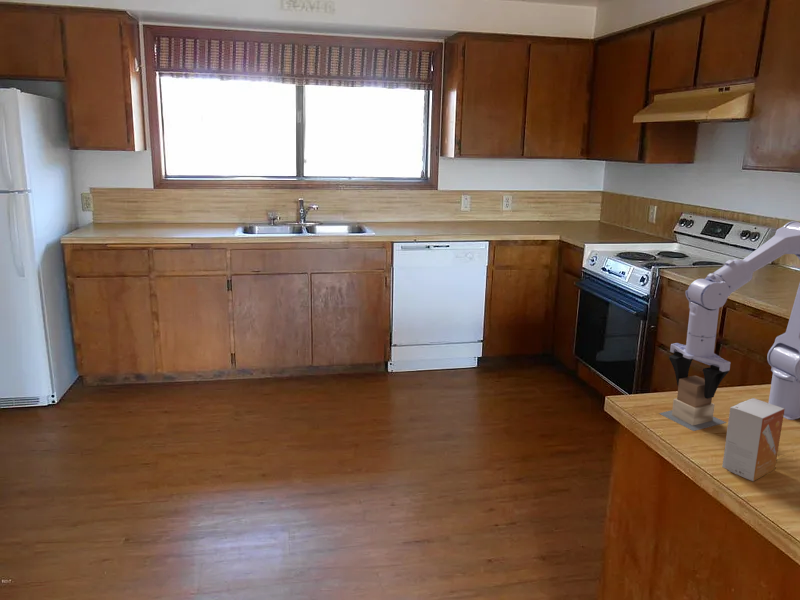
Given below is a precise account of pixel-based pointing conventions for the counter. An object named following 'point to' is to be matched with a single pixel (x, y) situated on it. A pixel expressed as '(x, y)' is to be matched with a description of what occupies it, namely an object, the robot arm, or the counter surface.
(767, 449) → the small box
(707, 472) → the counter surface
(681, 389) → the walnut block
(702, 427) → the mat
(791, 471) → the counter surface
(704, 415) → the maple block
